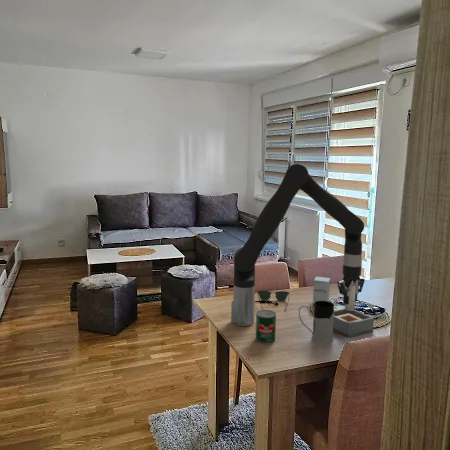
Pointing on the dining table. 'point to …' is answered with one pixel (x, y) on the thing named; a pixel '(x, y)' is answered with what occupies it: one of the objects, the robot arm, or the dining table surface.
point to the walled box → (352, 323)
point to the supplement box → (321, 289)
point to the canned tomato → (265, 326)
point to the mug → (322, 322)
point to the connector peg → (351, 298)
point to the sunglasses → (266, 295)
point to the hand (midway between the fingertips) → (349, 302)
